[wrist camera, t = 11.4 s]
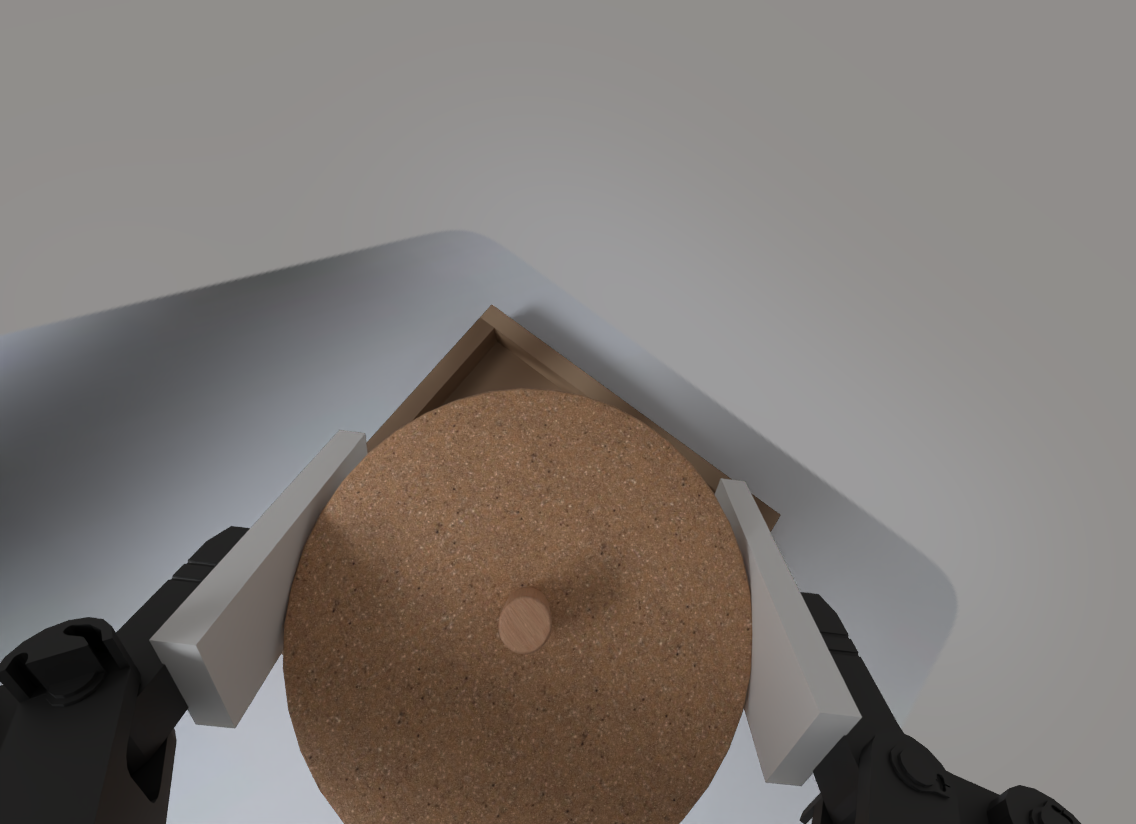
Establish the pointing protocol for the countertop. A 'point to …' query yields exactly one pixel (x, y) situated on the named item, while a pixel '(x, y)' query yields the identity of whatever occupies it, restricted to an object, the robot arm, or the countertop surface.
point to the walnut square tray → (521, 384)
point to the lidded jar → (518, 622)
